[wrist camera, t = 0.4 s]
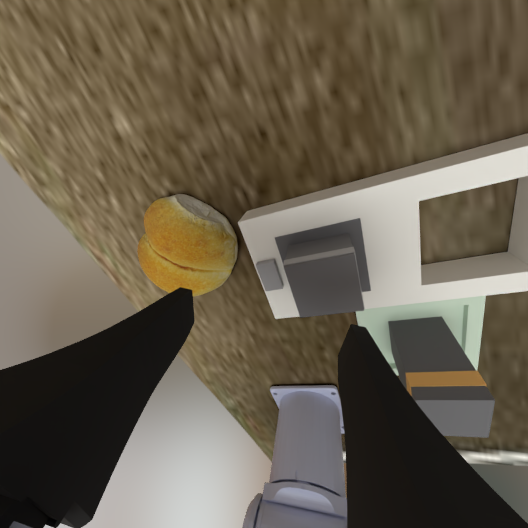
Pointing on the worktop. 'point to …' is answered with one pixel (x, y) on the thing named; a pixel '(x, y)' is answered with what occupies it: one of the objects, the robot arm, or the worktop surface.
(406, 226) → the strip
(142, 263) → the bread roll
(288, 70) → the worktop surface
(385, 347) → the tray
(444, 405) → the plug
